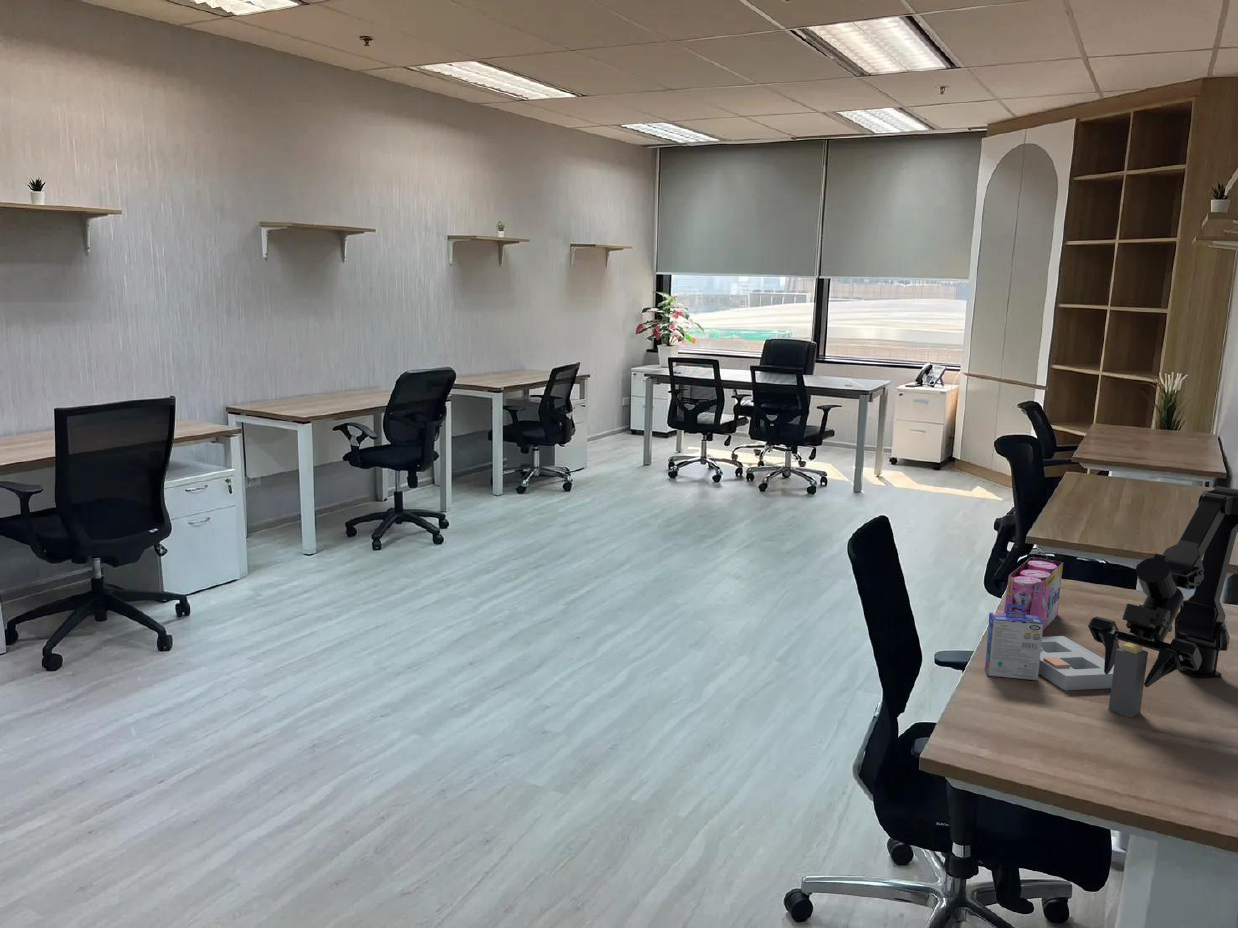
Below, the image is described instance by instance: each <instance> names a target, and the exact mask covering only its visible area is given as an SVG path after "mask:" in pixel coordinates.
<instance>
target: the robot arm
mask: <svg viewBox="0 0 1238 928" xmlns="http://www.w3.org/2000/svg"><path fill="white" fill-rule="evenodd" d="M1197 502H1198V503H1197V508H1196V509H1195V511H1194V513H1193V515H1192V516H1191V519H1190V520H1189V522H1188V524H1187V525H1186V527H1185V529H1184V530H1183V533H1182V535H1181V537H1180V538H1179V540H1178V542H1177V543H1176V544H1173V545H1171V546H1169V547H1168V548H1165V550H1164V552H1163V553H1162V554H1160V553H1155V554H1154V555H1153V557H1149V558H1146V559H1143V560H1142V561H1141V562H1139V563H1137V565H1136V568H1135V575H1136V577H1137V579H1138V582H1139V584H1140V587H1141V590H1142V592H1143V593H1144V594H1145V595H1146V597H1145V599H1144V602H1143V603H1142V604H1139V605H1136V604H1132V603H1127V604H1126V606H1125V609H1124V613H1123V615H1122V618H1121V619H1122V620H1123V621H1126V623H1125V626H1126V628H1127V629H1129V631H1126V630H1123V629H1119V628H1118V626H1117V623H1116V622H1115V620H1112V619H1108V618H1104V617H1101V616H1095V617H1092V618H1091V619H1090V621H1089V623H1088V625H1087V626H1088V629H1089V632H1090V633H1091V635H1092V636H1091V637H1092V638H1093V640H1094V641H1096V642H1097V643H1101V644H1102V645H1103V646H1104V652H1105V653H1104V659H1105V664H1104V673H1105V674H1108V673H1109V672H1110V671H1111V669H1112V667H1113V665H1114V662H1115V654H1116V649H1118V648H1121V647H1120V645H1119V643H1121V641H1122V642H1124V643H1125V642H1126V643H1128V642H1130V643H1133V644H1137V645H1140V646H1142V648H1147V649H1150V650H1153V651H1156V652H1158V654H1157V658H1156V660H1155V662H1154V663H1153V665H1152V667H1151V669H1150V671H1149V672H1148V674H1147V676H1146V677H1145V678H1146V679H1145V680H1144V687H1145V688H1149V687H1150V686H1152V685H1153V684H1154V683H1156V682H1157V681H1159V680H1161V679H1162V678H1164V677H1165V676H1167V675H1169V674H1171V673H1172V672H1174V671H1182V672H1183V673H1186V674H1188V675H1190V676H1191V677H1194V678H1209V677H1210V678H1211V677H1212V678H1213V677H1222V676H1223V673H1221V672H1219V671H1217V667H1218V666H1217V665H1218V662H1219V660H1218V659H1219V655H1220V654H1219V652H1221V651H1223V652H1226V651H1228V648H1229V644H1230V634H1229V631H1228V628H1227V625H1226V613H1225V611H1224V607H1223V606H1222V603H1221V598H1222V593H1223V590H1224V585H1225V581H1226V578H1227V573H1228V570H1229V566H1230V562H1231V558H1232V555H1233V549H1234V545H1235V542H1236V541H1235V540H1236V537H1237V533H1238V489H1237V488H1231V487H1224V486H1218V485H1217V486H1215V487H1214V488H1213V489H1211V490H1203V491H1202V493H1201V494H1200V496H1199V498H1198V501H1197ZM1180 588H1181V589H1185V590H1194V593H1193V595H1192V596H1190V597H1189V598H1188V599H1187V600H1186V599H1185V597H1184V593H1183V592H1182V590H1181V589H1180ZM1173 623H1174V627H1173ZM1173 629H1174V638H1172V639H1171V642H1165V640H1166V637H1167V635H1168V634H1169V633H1172V631H1173Z"/></svg>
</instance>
